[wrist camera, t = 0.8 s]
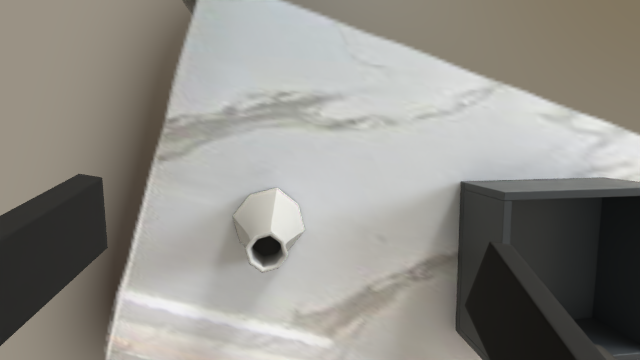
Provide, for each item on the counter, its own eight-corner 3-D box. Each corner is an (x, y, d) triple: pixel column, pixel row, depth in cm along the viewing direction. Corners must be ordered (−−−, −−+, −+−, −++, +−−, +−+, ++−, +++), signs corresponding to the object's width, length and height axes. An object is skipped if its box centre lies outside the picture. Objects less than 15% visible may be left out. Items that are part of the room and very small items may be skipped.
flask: (279, 175, 38) (280, 188, 28) (316, 231, 39) (329, 263, 29) (220, 213, 37) (200, 240, 27) (259, 268, 38) (253, 313, 29)
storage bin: (460, 181, 40) (504, 192, 32) (603, 177, 42) (676, 186, 34) (455, 330, 42) (495, 374, 34) (591, 319, 44) (658, 358, 36)
